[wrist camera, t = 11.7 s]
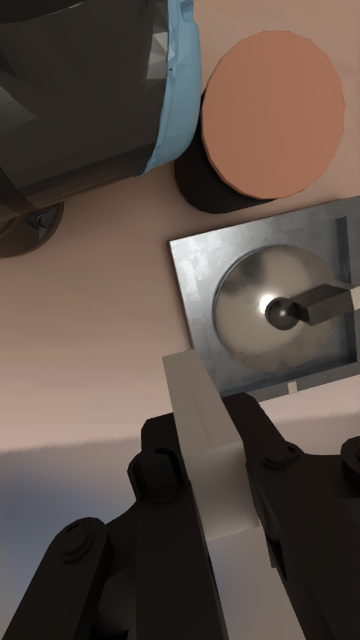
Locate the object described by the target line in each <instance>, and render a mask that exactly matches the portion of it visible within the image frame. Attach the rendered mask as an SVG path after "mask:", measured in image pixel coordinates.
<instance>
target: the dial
mask: <svg viewBox="0 0 360 640" xmlns="http://www.w3.org/2000/svg"><path fill="white" fill-rule="evenodd" d="M359 308H360V286H358V285H353V284H349V283H344V282H340V281H336V279H335V276H334V274H333V272H332V271H331V269H330V268H329V266H328V265H327V264H326V263H325V262H324V261H323V260H322V259H321V258H320V257H319V256H317V255H316V254H314V253H312V252H311V251H308V250H306V249H304V248H300V247H296V246H288V245H274V246H268V247H264V248H261V249H258V250H256V251H253V252H251V253H249V254H248V255H246V256H245V257H243V258H242V259H240V260H239V261H238V262H237V263H236V264H235V265H234V266H233V267H232V268H231V269H230V270H229V271H228V273H227V274H226V276H225V277H224V279H223V280H222V282H221V284H220V286H219V289H218V291H217V294H216V298H215V303H214V323H215V328H216V332H217V334H218V337H219V339H220V341H221V342H222V344H223V346H224V347H225V348H226V350H227V351H228V352H229V353H230V354H231V356H232V357H234V358H235V359H236V360H237V361H238V362H240V363H241V364H243V365H245V366H247V367H249V368H252V369H255V370H259V371H264V372H277V371H283V370H288V369H291V368H294V367H296V366H298V365H301V364H303V363H304V362H306V361H307V360H309V359H310V358H312V357H313V356H314V355H315V354H316V353H317V352H318V351H319V350H320V349H321V348H322V347H323V346H324V345H325V344H326V342H327V341H328V339H329V338H330V336H331V334H332V332H333V330H334V328H335V325H336V323H337V320H338V316H339V315H342V314H344V313H347V312H349V311H352V310H356V309H359Z"/></svg>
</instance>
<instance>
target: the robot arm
mask: <svg viewBox="0 0 360 640" xmlns="http://www.w3.org/2000/svg"><path fill="white" fill-rule="evenodd" d="M193 3H194V0H0V258H8V257H14V256H20V255H23V254H27V253H29V252H32V251H34V250H35V249H37V248H39V247H40V246H42V245H43V244H44V243H45V242H46V241H47V240H48V239H49V238H50V237H51V236H52V235H53V233H54V232H55V230H56V229H57V227H58V225H59V223H60V220H61V217H62V214H63V209H64V200H67V199H70V198H72V197H75V196H78V195H81V194H84V193H87V192H89V191H92V190H95V189H98V188H101V187H104V186H106V185H109V184H112V183H115V182H118V181H120V180H123V179H126V178H129V177H132V176H134V177H141V176H144V175H145V174H146V173H148V172H149V171H150V170H151V169H153V168H156V167H158V166H161V165H163V164H165V163H168V162H170V161H173V160H175V159H177V158H178V157H179V156H180V155H181V154H182V153H183V152H184V151H185V150H186V148H188V146H189V145H190V143H191V141H192V139H193V136H194V133H195V130H196V126H197V122H198V117H199V109H200V99H201V52H200V39H199V30H198V25H197V24H196V23H195V22H194V20H193ZM162 359H163V363H164V368H165V373H166V378H167V383H168V388H169V393H170V398H171V403H172V408H173V412H172V413H169V414H165V415H162V416H158V417H154V418H151V419H147V420H146V422H145V424H144V425H143V427H142V429H141V441H142V442H141V449H142V451H141V452H140V453H139V454H137V455H136V456H135V457H134V458H133V460H132V461H131V462H130V464H129V467H128V470H127V473H128V476H129V479H130V482H131V485H132V488H133V491H134V494H135V497H136V502H135V503H134V505H132V506H131V507H130V508H129V509H128V510H127V511H126V512H125V513H124V514H122V515H120V516H119V517H117V518H116V519H114V520H112V521H111V522H109V523H107V524H106V525H105V524H104V523H103V522H102V521H101V520H99V519H98V518H93V517H87V518H82V519H79V520H76V521H74V522H73V523H71V524H69V525H67V526H66V527H65V528H64V529H63V530H62V531H60V533H58V534H57V535H56V536H55V538H54V539H53V541H52V542H51V544H50V545H49V547H48V549H47V551H46V553H45V555H44V557H43V559H42V561H41V563H40V565H39V567H38V569H37V571H36V573H35V575H34V577H33V579H32V580H31V582H30V584H29V587H28V589H27V590H26V592H25V594H24V596H23V599H22V600H21V602H20V604H19V606H18V608H17V610H16V613H15V614H14V616H13V618H12V620H11V622H10V624H9V626H8V628H7V630H6V632H5V634H4V636H3V638H2V640H229V637H228V633H227V628H226V624H225V619H224V615H223V610H222V606H221V602H220V597H219V593H218V589H217V584H216V580H215V575H214V571H213V567H212V563H211V559H210V555H209V551H208V548H207V543H206V542H209V541H212V540H215V539H219V538H222V537H225V536H228V535H232V534H235V533H238V532H241V531H245V530H248V529H251V528H255V527H258V526H260V525H259V520H258V517H259V519H260V521H261V524H262V526H263V529H264V532H265V537H266V542H267V547H268V552H269V557H270V562H271V567H272V568H275V567H276V568H277V571H278V573H279V575H280V578H281V580H282V583H283V585H284V588H285V590H286V592H287V595H288V597H289V600H290V602H291V604H292V607H293V609H294V612H295V614H296V617H297V619H298V621H299V624H300V626H301V629H302V631H303V633H304V636H305V638H306V640H360V436H357V437H354V438H351V439H348V440H347V441H346V442H345V443H344V444H342V448H341V451H340V452H341V455H311V454H306V453H304V452H303V451H302V450H301V449H300V448H299V447H298V446H297V445H295V444H293V443H290V442H287V441H285V440H284V438H283V437H282V436H281V434H280V433H279V431H278V430H277V428H276V427H275V426H274V424H273V423H272V422H271V420H270V419H269V417H268V416H267V415H266V414H265V412H264V410H263V409H262V408H261V407H260V405H259V403H258V402H257V401H256V399H255V398H254V397H252V396H251V395H249V394H247V393H245V392H241V393H237V394H233V395H230V396H226V397H223V398H220V396H219V394H218V392H217V390H216V388H215V386H214V384H213V382H212V380H211V378H210V376H209V374H208V372H207V370H206V368H205V367H204V365H203V363H202V361H201V359H200V357H199V355H198V353H197V351H196V349H191V350H188V351H184V352H180V353H176V354H172V355H169V356H165V357H162Z"/></svg>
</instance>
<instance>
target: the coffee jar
mask: <svg viewBox="0 0 360 640" xmlns="http://www.w3.org/2000/svg"><path fill="white" fill-rule="evenodd" d="M344 113H345V102H344V97H343V92H342V87H341V82H340V78H339V77H338V75H337V73H336V71H335V69H334V67H333V65H332V63H331V62H330V60H329V58H328V56H327V55H326V54H325V53H323V52H322V51H321V50H320V49H319V48H318V47H317V46H316V45H315V44H314V43H313V42H312V41H311V40H309V39H307V38H304V37H302V36H299V35H297V34H295V33H292V32H290V31H263V32H260V33H258V34H255V35H253V36H250V37H248V38H246V39H243V40H241V41H240V42H238V43H237V44H236V45H235V46H234V47H233V48H232V49H231V50H230V51H229V52H227V53H226V54H225V55H224V56H223V57H222V58H221V59H220V61H219V63H218V65H217V66H216V68H215V70H214V72H213V73H212V75H211V77H210V79H209V80H208V83H207V86H206V89H205V90H204V92H203V94H202V96H201V99H200V109H199V117H198V122H197V126H196V130H195V133H194V136H193V139H192V141H191V143H190V145H189V146H188V148H186V150H185V151H184V152H183V153H182V154H181V155H180V156H179V157H178V158H177V159H175V162H174V163H175V178H176V180H177V183H178V186H179V188H180V191H181V193H182V194H183V195H184V196H185V198H186V199H187V200H188V202H189V203H191V204H192V205H193V206H195V207H196V208H198V209H199V210H201V211H205V212H208V213H212V214H219V213H228V212H232V211H236V210H240V209H244V208H248V207H252V206H256V205H260V204H264V203H268V202H271V201H273V200H276V199H278V198H286V197H288V196H290V195H293V194H295V193H298V192H300V191H302V190H305V189H306V188H307V187H308V186H309V185H310V184H312V183H313V182H314V181H315V180H316V179H317V178H319V177H320V176H321V175H322V174H323V172H324V171H325V169H326V168H327V166H328V165H329V163H330V162H331V160H332V159H333V157H334V156H335V154H336V151H337V148H338V145H339V142H340V139H341V136H342V133H343V129H344Z"/></svg>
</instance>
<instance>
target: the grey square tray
mask: <svg viewBox="0 0 360 640" xmlns="http://www.w3.org/2000/svg"><path fill="white" fill-rule="evenodd" d="M167 244H168V249H169V253H170V257H171V261H172V266H173V270H174V274H175V278H176V283H177V287H178V291H179V296H180V300H181V304H182V308H183V313H184V317H185V321H186V325H187V330H188V334H189V338H190V343H191V347H192V349H196V351H197V353H198V355H199V357H200V359H201V361H202V363H203V365H204V367H205V368H206V370H207V372H208V374H209V376H210V378H211V380H212V382H213V384H214V386H215V388H216V390H217V392H218V394H219V396H220V398H223V397H226V396H230V395H233V394H237V393H241V392H245V393H247V394H249V395H251V396H252V397H254V398H255V399H256V401H257V402H262V401H265V400H269V399H272V398H276V397H280V396H283V395H287V394H289V395H291V394H294V393H297V391H301V390H305V389H308V388H312V387H315V386H319V385H323V384H326V383H330V382H333V381H337V380H340V379H344V378H348V377H351V376H355V375H358V374H360V308H359V309H356V310H352V311H349V312H347V313H344V314H342V315H339V316H338V320H337V323H336V325H335V328H334V330H333V332H332V334H331V336H330V338H329V339H328V341H327V342H326V344H325V345H324V346H323V347H322V348H321V349H320V350H319V351H318V352H317V353H316V354H315V355H314V356H313V357H312V358H310V359H309V360H307V361H306V362H304V363H303V364H301V365H298V366H296V367H294V368H291V369H288V370H283V371H277V372H264V371H259V370H255V369H252V368H249V367H247V366H245V365H243V364H241V363H240V362H238V361H237V360H236V359H235V358H234V357H232V356H231V354H230V353H229V352H228V351H227V350H226V348H225V347H224V346H223V344H222V342H221V341H220V339H219V337H218V334H217V332H216V328H215V323H214V303H215V298H216V294H217V291H218V289H219V286H220V284H221V282H222V280H223V279H224V277H225V276H226V274H227V273H228V271H229V270H230V269H231V268H232V267H233V266H234V265H235V264H236V263H237V262H238V261H239V260H240V259H242V258H243V257H245V256H246V255H248V254H249V253H251V252H253V251H256V250H258V249H261V248H264V247H268V246H274V245H288V246H296V247H300V248H304V249H306V250H308V251H311V252H312V253H314V254H316V255H317V256H319V257H320V258H321V259H322V260H323V261H324V262H325V263H326V264H327V265H328V266H329V268H330V269H331V271H332V272H333V274H334V276H335V279H336V281H340V282H344V283H349V284H353V285H358V286H360V196H355V197H350V198H344V199H339V200H335V201H331V202H326V203H322V204H318V205H314V206H310V207H306V208H302V209H297V210H293V211H289V212H285V213H281V214H277V215H273V216H269V217H264V218H260V219H256V220H252V221H248V222H244V223H240V224H235V225H231V226H227V227H223V228H219V229H215V230H211V231H206V232H202V233H198V234H194V235H190V236H186V237H182V238H177V239H173V240H169V241H167Z"/></svg>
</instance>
